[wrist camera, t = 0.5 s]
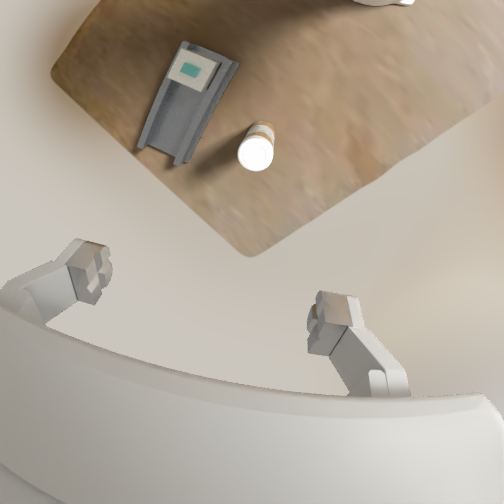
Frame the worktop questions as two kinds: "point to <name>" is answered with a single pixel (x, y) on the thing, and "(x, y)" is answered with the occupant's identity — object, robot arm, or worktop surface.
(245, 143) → the sprinkles bottle
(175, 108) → the rail
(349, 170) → the worktop surface
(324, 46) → the worktop surface
